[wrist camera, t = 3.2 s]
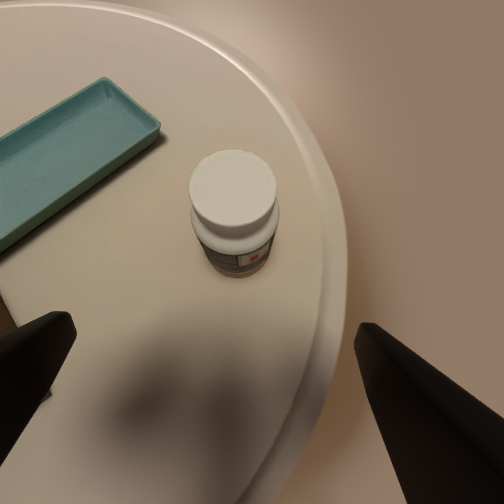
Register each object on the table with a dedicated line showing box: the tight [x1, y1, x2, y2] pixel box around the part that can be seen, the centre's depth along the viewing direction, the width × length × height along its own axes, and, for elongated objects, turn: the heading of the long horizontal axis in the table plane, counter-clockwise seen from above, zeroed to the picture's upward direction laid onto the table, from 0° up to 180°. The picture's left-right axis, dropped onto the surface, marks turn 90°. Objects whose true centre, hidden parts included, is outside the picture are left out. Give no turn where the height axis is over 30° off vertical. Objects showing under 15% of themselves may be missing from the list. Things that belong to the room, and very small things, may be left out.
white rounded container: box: [188, 149, 279, 277], centre depth 17 cm, size 6×6×10 cm
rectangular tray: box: [0, 77, 161, 253], centre depth 22 cm, size 26×9×2 cm, turn 137°
